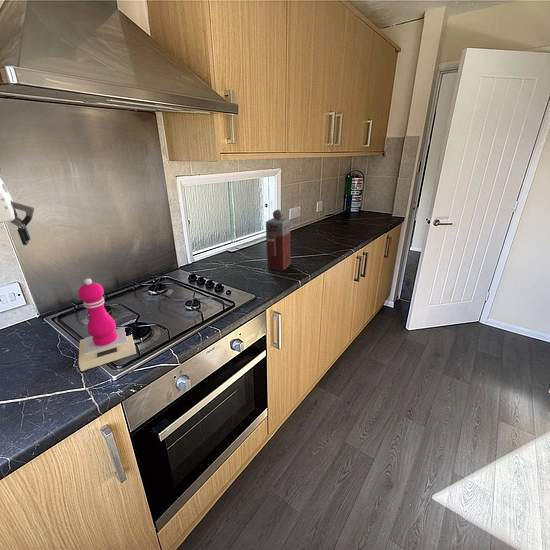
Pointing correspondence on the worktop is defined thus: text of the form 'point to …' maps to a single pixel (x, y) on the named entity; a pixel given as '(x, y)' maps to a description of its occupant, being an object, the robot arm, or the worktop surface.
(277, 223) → the red square decanter
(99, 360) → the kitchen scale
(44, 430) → the worktop surface
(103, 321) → the pepper mill
